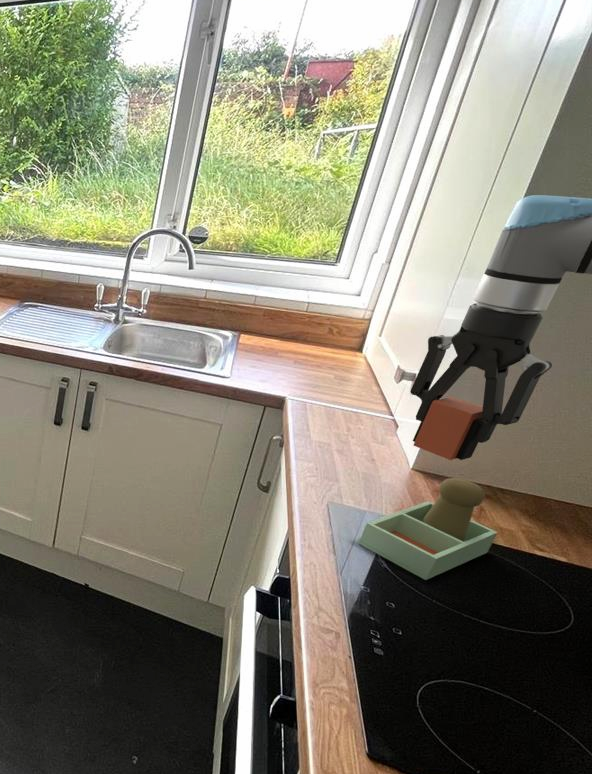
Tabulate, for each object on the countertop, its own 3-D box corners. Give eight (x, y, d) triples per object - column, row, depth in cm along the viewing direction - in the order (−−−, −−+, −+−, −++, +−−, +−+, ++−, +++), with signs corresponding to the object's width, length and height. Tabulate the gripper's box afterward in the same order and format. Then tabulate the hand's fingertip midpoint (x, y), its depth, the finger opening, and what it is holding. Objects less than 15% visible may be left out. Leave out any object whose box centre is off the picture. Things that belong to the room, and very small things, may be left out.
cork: (413, 538, 97) (440, 482, 93) (415, 523, 101) (440, 468, 97) (462, 555, 93) (493, 498, 89) (462, 539, 97) (491, 483, 93)
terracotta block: (468, 455, 91) (490, 409, 88) (450, 460, 90) (472, 413, 87) (430, 440, 96) (450, 396, 93) (412, 445, 94) (432, 400, 91)
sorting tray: (419, 520, 103) (428, 500, 101) (487, 552, 95) (498, 532, 94) (357, 543, 96) (366, 522, 95) (425, 580, 88) (436, 558, 87)
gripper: (610, 323, 77) (528, 473, 86) (445, 291, 93) (391, 421, 102) (582, 327, 75) (501, 482, 84) (418, 294, 90) (364, 427, 99)
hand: (441, 448), depth 93 cm, fingers closed on terracotta block, 5 cm apart
